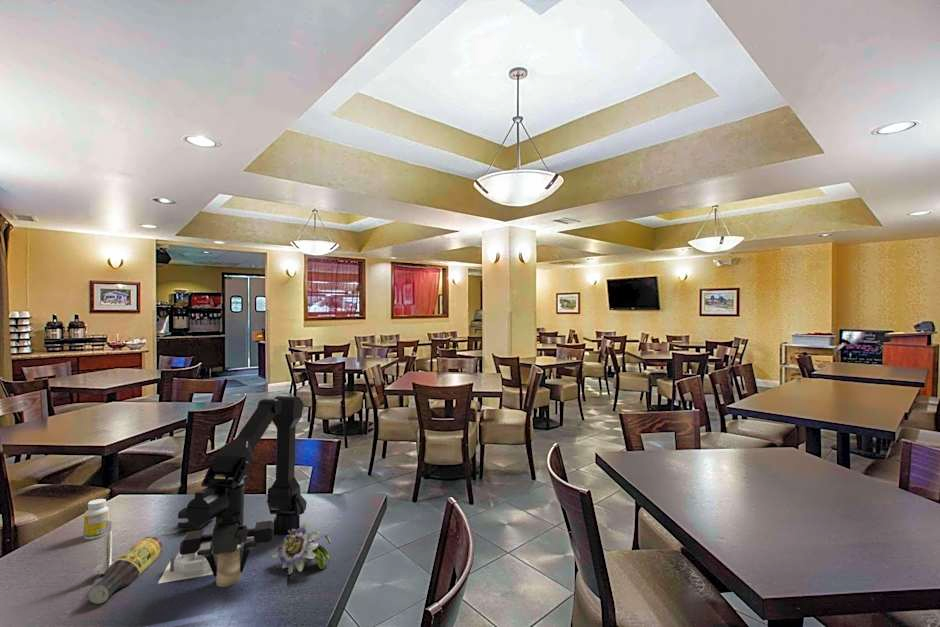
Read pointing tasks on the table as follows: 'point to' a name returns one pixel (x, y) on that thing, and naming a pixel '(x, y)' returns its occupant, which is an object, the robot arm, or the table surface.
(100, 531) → the supplement bottle
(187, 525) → the end cap
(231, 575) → the maple peg
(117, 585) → the sauce bottle
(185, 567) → the white faceted ring
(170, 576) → the base plate
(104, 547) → the graduated cylinder
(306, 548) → the passion flower
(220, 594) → the table surface
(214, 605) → the table surface
